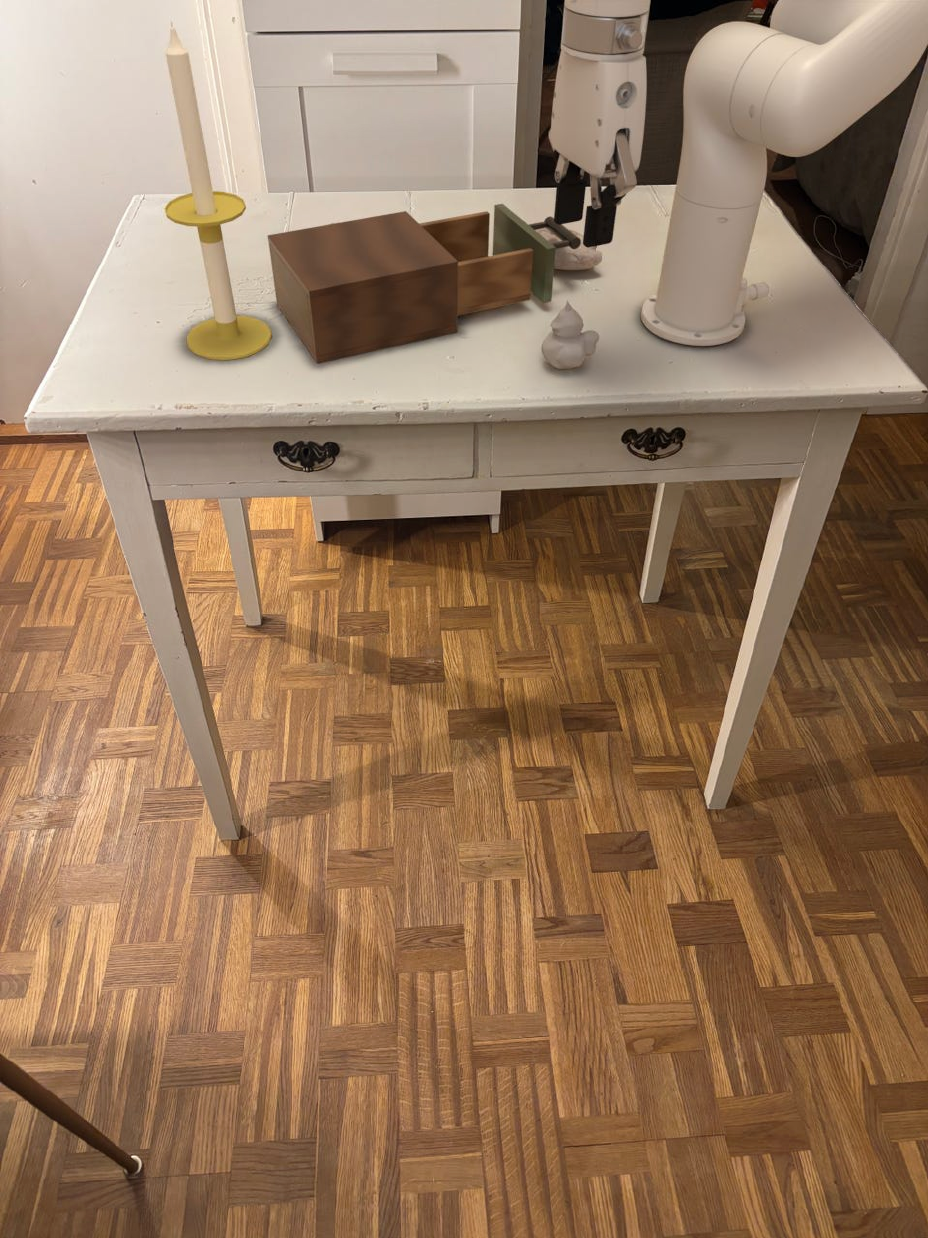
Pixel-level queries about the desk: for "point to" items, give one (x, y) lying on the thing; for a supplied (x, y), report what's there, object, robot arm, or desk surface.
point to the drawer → (500, 257)
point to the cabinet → (364, 285)
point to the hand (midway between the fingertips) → (582, 230)
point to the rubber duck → (568, 340)
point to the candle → (208, 227)
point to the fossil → (572, 253)
